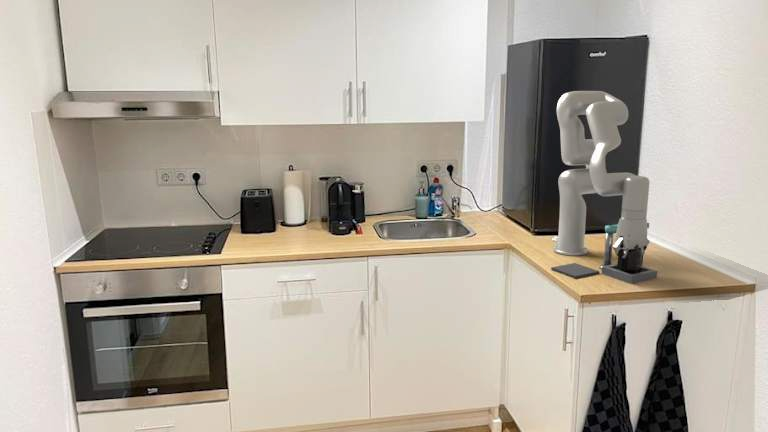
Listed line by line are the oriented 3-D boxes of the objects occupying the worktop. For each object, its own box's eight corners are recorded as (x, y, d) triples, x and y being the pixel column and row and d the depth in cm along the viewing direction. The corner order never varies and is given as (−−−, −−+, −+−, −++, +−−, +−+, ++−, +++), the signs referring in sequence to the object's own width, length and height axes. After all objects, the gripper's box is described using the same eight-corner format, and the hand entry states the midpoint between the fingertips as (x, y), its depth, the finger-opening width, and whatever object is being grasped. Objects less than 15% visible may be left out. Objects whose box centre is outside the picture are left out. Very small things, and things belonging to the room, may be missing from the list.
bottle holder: (601, 273, 190) (602, 266, 189) (626, 268, 195) (627, 261, 195) (631, 283, 180) (632, 276, 179) (656, 277, 185) (657, 270, 184)
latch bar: (613, 233, 189) (613, 228, 189) (599, 230, 194) (599, 225, 194) (648, 228, 196) (649, 223, 196) (634, 224, 202) (635, 219, 201)
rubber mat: (551, 269, 195) (551, 267, 195) (574, 265, 200) (574, 262, 200) (575, 278, 185) (575, 276, 185) (599, 273, 190) (599, 271, 190)
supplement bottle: (634, 272, 191) (637, 238, 188) (644, 278, 184) (647, 243, 182) (614, 272, 191) (616, 238, 188) (623, 279, 184) (626, 243, 181)
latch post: (596, 267, 196) (598, 231, 194) (606, 265, 199) (609, 229, 196) (607, 271, 192) (610, 234, 189) (618, 269, 194) (620, 233, 191)
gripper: (642, 209, 190) (638, 260, 194) (605, 215, 182) (601, 268, 186) (662, 213, 184) (657, 266, 187) (624, 219, 176) (620, 274, 180)
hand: (629, 266), depth 187 cm, fingers closed on supplement bottle, 6 cm apart
